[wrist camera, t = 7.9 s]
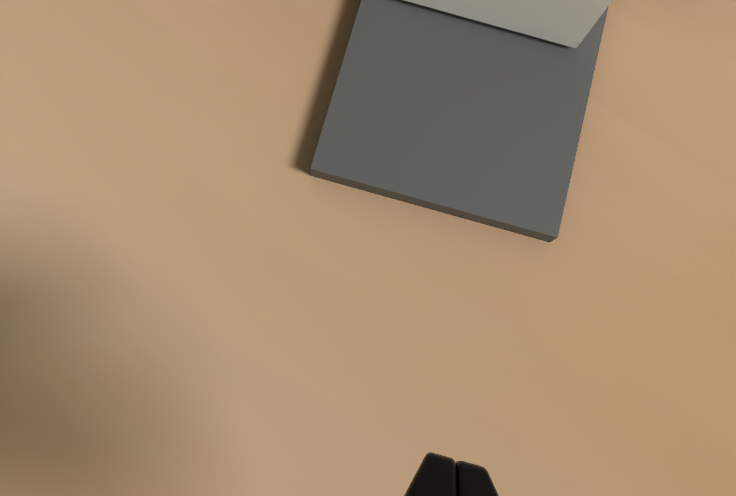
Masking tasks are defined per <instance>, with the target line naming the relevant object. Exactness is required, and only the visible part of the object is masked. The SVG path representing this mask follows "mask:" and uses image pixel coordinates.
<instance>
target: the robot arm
mask: <svg viewBox="0 0 736 496" xmlns="http://www.w3.org/2000/svg"><path fill="white" fill-rule="evenodd" d="M404 496H498V494H497V492H496V489H495V487H494V485H493V483H492V480H491V478H490V476H489V474H488V472H487V470H486V469H485V468H484V467H481V466H478V465H475V464H471V463H468V462H464V461H457V462H456V463H455V461H454V460H453V459H452V458H449V457H446V456H442V455H438V454H435V453H428V454H426V456H425V457H424V459H423V461H422V463H421V465H420V467H419V469H418V471H417V473H416V474H415V476H414V478H413V480H412V482H411V484H410V486H409V488H408V490H407V492H406V493H405V495H404Z"/></svg>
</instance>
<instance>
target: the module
mask: <svg viewBox="0 0 736 496" xmlns="http://www.w3.org/2000/svg"><path fill="white" fill-rule="evenodd" d="M404 1H408V2H412V3H415V4H419V5H422V6H426V7H429V8H433V9H437V10H440V11H444V12H447V13H451V14H455V15H458V16H462V17H465V18H469V19H472V20H476V21H480V22H483V23H487V24H490V25H494V26H498V27H501V28H505V29H508V30H512V31H515V32H519V33H523V34H526V35H530V36H533V37H537V38H541V39H544V40H548V41H551V42H555V43H558V44H562V45H566V46H569V47H573V48H577V47H578V46H579V44H580V43H581V42H582V40H583V39H584V38H585V36H586V35H587V34H588V32H589V31H590V30H591V28H592V27H593V26H594V24H595V23H596V22H597V20H598V19H599V18H600V16H601V15H602V14H603V12H604V11H605V10H606V8H607V7H608V6H609V4H610V3H611V2H612V0H404Z"/></svg>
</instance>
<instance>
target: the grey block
mask: <svg viewBox="0 0 736 496" xmlns="http://www.w3.org/2000/svg"><path fill="white" fill-rule="evenodd" d="M607 10H608V7H607V8H606V10H605V11H604V12H603V14H602V15H601V16H600V18H599V19H598V20H597V22H596V23H595V24H594V26H593V27H592V28H591V30H590V31H589V32H588V34H587V35H586V36H585V38H584V39H583V40H582V42H581V43H580V44H579V46H578V47H577V48H573V47H569V46H566V45H562V44H558V43H555V42H551V41H548V40H544V39H541V38H537V37H533V36H530V35H526V34H523V33H519V32H515V31H512V30H508V29H505V28H501V27H498V26H494V25H490V24H487V23H483V22H480V21H476V20H472V19H469V18H465V17H462V16H458V15H455V14H451V13H447V12H444V11H440V10H437V9H433V8H429V7H426V6H422V5H419V4H415V3H412V2H408V1H404V0H361V3H360V6H359V10H358V13H357V16H356V19H355V23H354V26H353V29H352V33H351V36H350V39H349V42H348V46H347V49H346V52H345V56H344V59H343V62H342V65H341V69H340V72H339V75H338V79H337V82H336V85H335V88H334V92H333V95H332V98H331V102H330V105H329V108H328V111H327V115H326V118H325V121H324V125H323V128H322V131H321V134H320V138H319V141H318V144H317V148H316V151H315V154H314V158H313V161H312V164H311V167H310V172H311V176H315V177H318V178H322V179H325V180H329V181H333V182H336V183H340V184H343V185H347V186H351V187H354V188H358V189H361V190H365V191H369V192H372V193H376V194H379V195H383V196H386V197H390V198H394V199H397V200H401V201H404V202H408V203H412V204H415V205H419V206H422V207H426V208H430V209H433V210H437V211H440V212H444V213H447V214H451V215H455V216H458V217H462V218H465V219H469V220H473V221H476V222H480V223H483V224H487V225H490V226H494V227H498V228H501V229H505V230H508V231H512V232H516V233H519V234H523V235H526V236H530V237H534V238H537V239H541V240H544V241H548V242H551V241H553V240H554V239H556V238H557V237H558V233H559V228H560V224H561V219H562V214H563V210H564V205H565V201H566V196H567V192H568V187H569V183H570V178H571V174H572V169H573V164H574V160H575V155H576V151H577V146H578V142H579V137H580V133H581V128H582V123H583V119H584V114H585V110H586V105H587V101H588V96H589V92H590V87H591V83H592V78H593V73H594V69H595V64H596V60H597V55H598V51H599V46H600V42H601V37H602V32H603V28H604V23H605V19H606V14H607Z"/></svg>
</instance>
